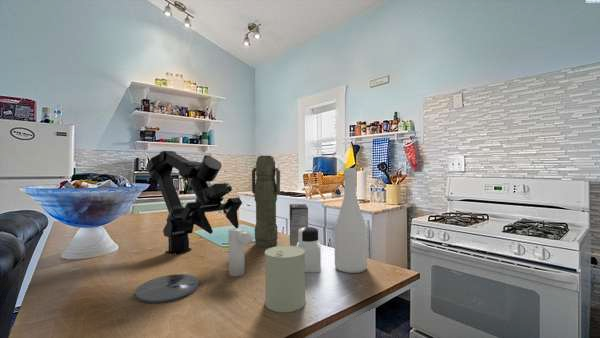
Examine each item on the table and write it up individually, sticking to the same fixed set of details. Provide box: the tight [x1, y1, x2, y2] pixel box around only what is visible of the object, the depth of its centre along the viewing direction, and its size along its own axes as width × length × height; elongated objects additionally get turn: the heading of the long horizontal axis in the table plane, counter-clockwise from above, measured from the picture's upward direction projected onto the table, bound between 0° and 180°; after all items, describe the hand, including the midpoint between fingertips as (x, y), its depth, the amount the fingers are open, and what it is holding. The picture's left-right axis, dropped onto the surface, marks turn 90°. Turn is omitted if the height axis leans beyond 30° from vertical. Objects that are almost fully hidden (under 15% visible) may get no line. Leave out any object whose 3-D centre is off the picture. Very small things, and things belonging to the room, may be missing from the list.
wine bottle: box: [333, 167, 368, 274], centre depth 84 cm, size 10×10×30 cm
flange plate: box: [135, 273, 199, 304], centre depth 70 cm, size 14×14×1 cm
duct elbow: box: [228, 227, 254, 277], centre depth 79 cm, size 7×4×12 cm, turn 50°
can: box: [264, 245, 307, 313], centre depth 63 cm, size 9×9×12 cm
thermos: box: [251, 155, 281, 249], centre depth 110 cm, size 9×12×35 cm
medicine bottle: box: [296, 226, 322, 273], centre depth 84 cm, size 7×7×12 cm
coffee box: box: [289, 203, 309, 246], centre depth 105 cm, size 9×6×16 cm
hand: (225, 230), depth 84 cm, fingers open, 9 cm apart
